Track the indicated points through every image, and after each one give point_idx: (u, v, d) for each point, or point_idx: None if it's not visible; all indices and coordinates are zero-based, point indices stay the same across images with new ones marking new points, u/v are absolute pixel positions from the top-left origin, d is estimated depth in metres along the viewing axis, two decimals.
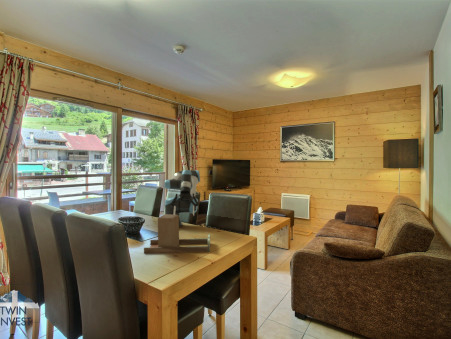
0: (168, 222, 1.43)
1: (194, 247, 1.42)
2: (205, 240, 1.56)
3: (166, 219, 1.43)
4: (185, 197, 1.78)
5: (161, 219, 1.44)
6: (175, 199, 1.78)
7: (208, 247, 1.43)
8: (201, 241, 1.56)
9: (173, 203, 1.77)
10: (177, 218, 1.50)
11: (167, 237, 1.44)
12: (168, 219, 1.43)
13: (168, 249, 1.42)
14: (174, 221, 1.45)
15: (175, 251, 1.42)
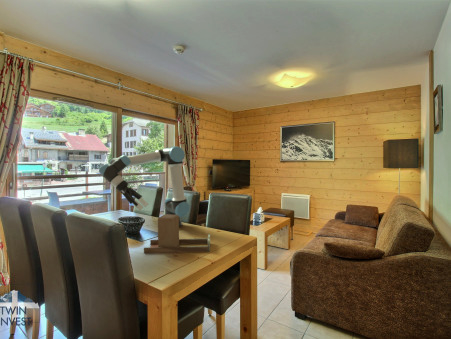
0: (169, 222, 1.43)
1: (194, 247, 1.42)
2: (205, 240, 1.56)
3: (166, 219, 1.43)
4: None
5: (161, 219, 1.44)
6: None
7: (208, 247, 1.43)
8: (201, 241, 1.56)
9: None
10: (177, 218, 1.50)
11: (167, 237, 1.44)
12: (168, 219, 1.43)
13: (168, 249, 1.42)
14: (174, 221, 1.45)
15: (175, 251, 1.42)
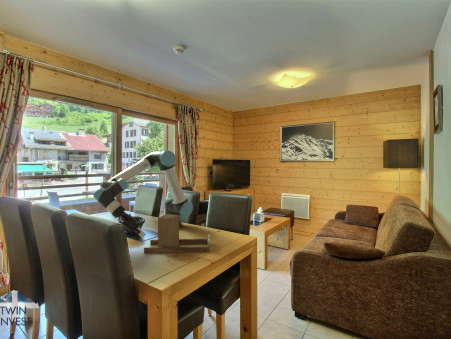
0: (169, 222, 1.43)
1: (194, 247, 1.42)
2: (205, 240, 1.56)
3: (166, 219, 1.43)
4: None
5: (161, 219, 1.44)
6: None
7: (208, 247, 1.43)
8: (201, 241, 1.56)
9: None
10: (177, 218, 1.50)
11: (167, 237, 1.44)
12: (168, 219, 1.43)
13: (168, 249, 1.42)
14: (174, 221, 1.45)
15: (175, 251, 1.42)
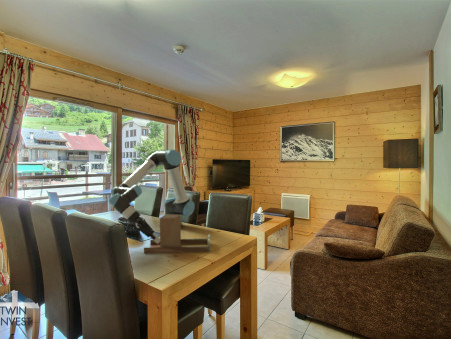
0: (171, 222, 1.43)
1: (194, 247, 1.42)
2: (205, 240, 1.56)
3: (168, 219, 1.43)
4: None
5: (163, 219, 1.44)
6: None
7: (208, 247, 1.43)
8: (201, 241, 1.56)
9: None
10: (179, 218, 1.50)
11: (170, 237, 1.44)
12: (170, 219, 1.43)
13: (168, 249, 1.42)
14: (176, 221, 1.45)
15: (175, 251, 1.42)
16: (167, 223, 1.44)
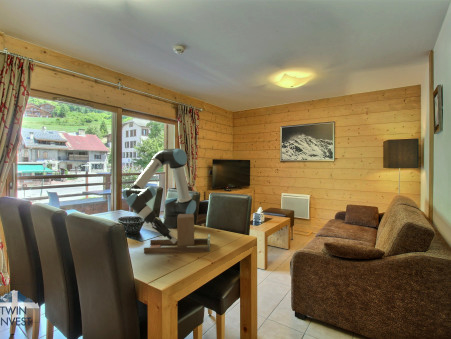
0: (190, 221, 1.45)
1: (194, 247, 1.42)
2: (205, 240, 1.56)
3: (187, 218, 1.45)
4: None
5: (181, 219, 1.45)
6: None
7: (208, 247, 1.43)
8: (201, 241, 1.56)
9: None
10: None
11: (188, 236, 1.45)
12: (189, 218, 1.45)
13: (168, 249, 1.42)
14: None
15: (175, 251, 1.42)
16: (185, 222, 1.45)
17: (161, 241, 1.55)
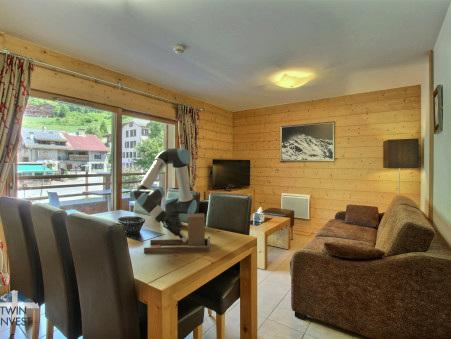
0: (200, 221, 1.46)
1: (194, 247, 1.42)
2: (205, 240, 1.56)
3: (197, 218, 1.46)
4: None
5: (192, 218, 1.45)
6: None
7: (208, 247, 1.43)
8: None
9: None
10: None
11: (199, 236, 1.46)
12: (200, 218, 1.46)
13: (168, 249, 1.42)
14: (204, 219, 1.49)
15: (175, 251, 1.42)
16: (196, 222, 1.46)
17: (161, 241, 1.55)
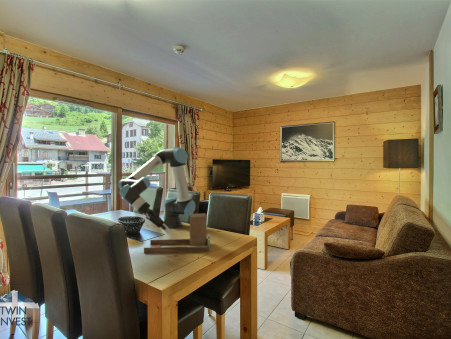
0: (202, 221, 1.46)
1: (194, 247, 1.42)
2: None
3: (199, 218, 1.46)
4: None
5: (194, 218, 1.45)
6: None
7: (208, 247, 1.43)
8: None
9: None
10: None
11: (200, 236, 1.46)
12: (201, 218, 1.46)
13: (168, 249, 1.42)
14: None
15: (175, 251, 1.42)
16: (198, 222, 1.46)
17: (161, 241, 1.55)
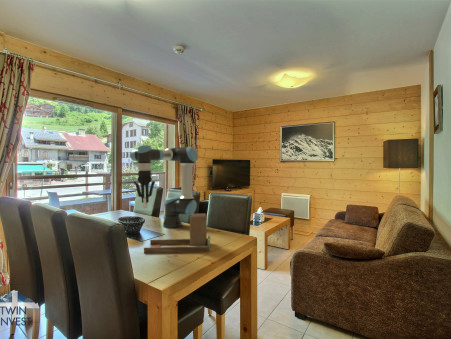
0: (202, 221, 1.46)
1: (194, 247, 1.42)
2: None
3: (199, 218, 1.46)
4: (145, 183, 1.50)
5: (194, 218, 1.45)
6: (138, 187, 1.50)
7: (208, 247, 1.43)
8: None
9: (140, 192, 1.52)
10: None
11: (200, 236, 1.46)
12: (201, 218, 1.46)
13: (168, 249, 1.42)
14: None
15: (175, 251, 1.42)
16: (198, 222, 1.46)
17: (161, 241, 1.55)
